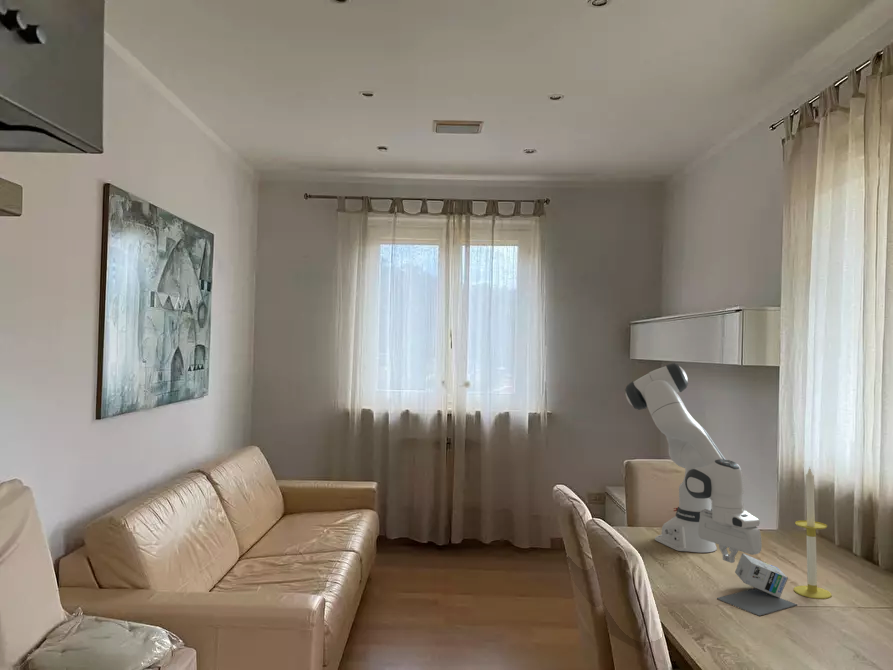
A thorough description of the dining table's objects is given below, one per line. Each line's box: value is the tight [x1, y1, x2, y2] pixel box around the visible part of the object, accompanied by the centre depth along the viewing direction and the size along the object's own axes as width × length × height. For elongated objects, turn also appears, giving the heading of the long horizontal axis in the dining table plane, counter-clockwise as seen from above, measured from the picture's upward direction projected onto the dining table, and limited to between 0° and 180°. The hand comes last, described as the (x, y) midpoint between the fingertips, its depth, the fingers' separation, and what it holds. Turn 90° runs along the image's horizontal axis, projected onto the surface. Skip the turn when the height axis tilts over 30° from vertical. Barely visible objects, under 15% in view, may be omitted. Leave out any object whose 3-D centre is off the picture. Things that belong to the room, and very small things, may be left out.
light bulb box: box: [734, 552, 789, 598], centre depth 194 cm, size 11×7×11 cm
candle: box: [793, 466, 833, 600], centre depth 194 cm, size 10×10×38 cm
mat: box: [716, 587, 798, 617], centre depth 186 cm, size 14×16×1 cm
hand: (728, 561), depth 194 cm, fingers closed
